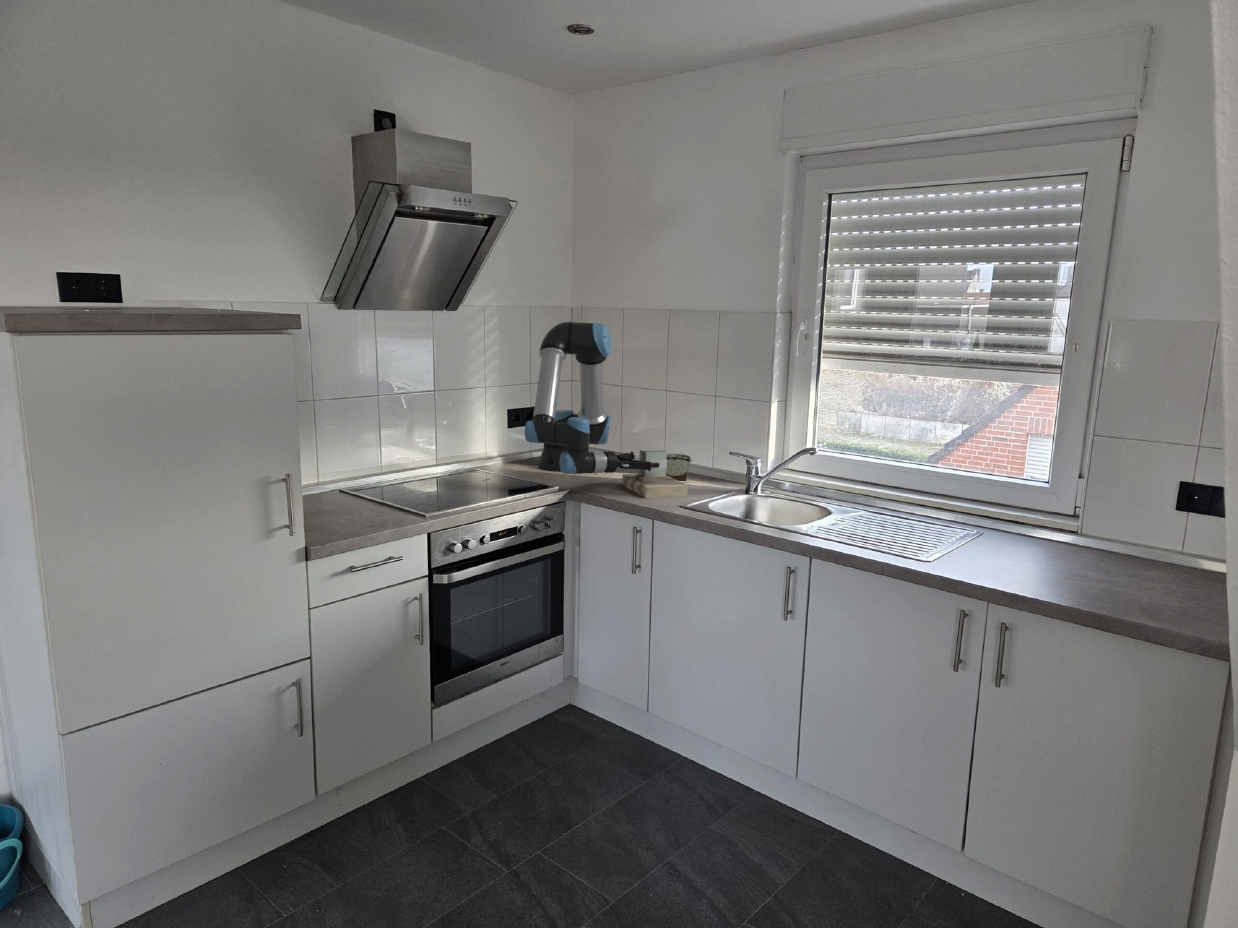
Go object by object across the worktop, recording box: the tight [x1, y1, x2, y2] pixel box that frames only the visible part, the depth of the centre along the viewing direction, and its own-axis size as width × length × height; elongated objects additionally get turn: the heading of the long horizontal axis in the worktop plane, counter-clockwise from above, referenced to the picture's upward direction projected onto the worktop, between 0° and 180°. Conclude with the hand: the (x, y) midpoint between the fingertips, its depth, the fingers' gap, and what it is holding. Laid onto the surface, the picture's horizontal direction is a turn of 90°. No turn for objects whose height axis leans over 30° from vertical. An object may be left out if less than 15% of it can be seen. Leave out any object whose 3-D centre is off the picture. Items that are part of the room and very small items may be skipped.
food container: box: [666, 452, 692, 482], centre depth 315 cm, size 12×6×10 cm, turn 84°
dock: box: [621, 473, 689, 499], centre depth 295 cm, size 22×16×4 cm
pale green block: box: [635, 448, 668, 482], centre depth 293 cm, size 6×10×10 cm, turn 112°
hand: (658, 460), depth 294 cm, fingers open, 13 cm apart
